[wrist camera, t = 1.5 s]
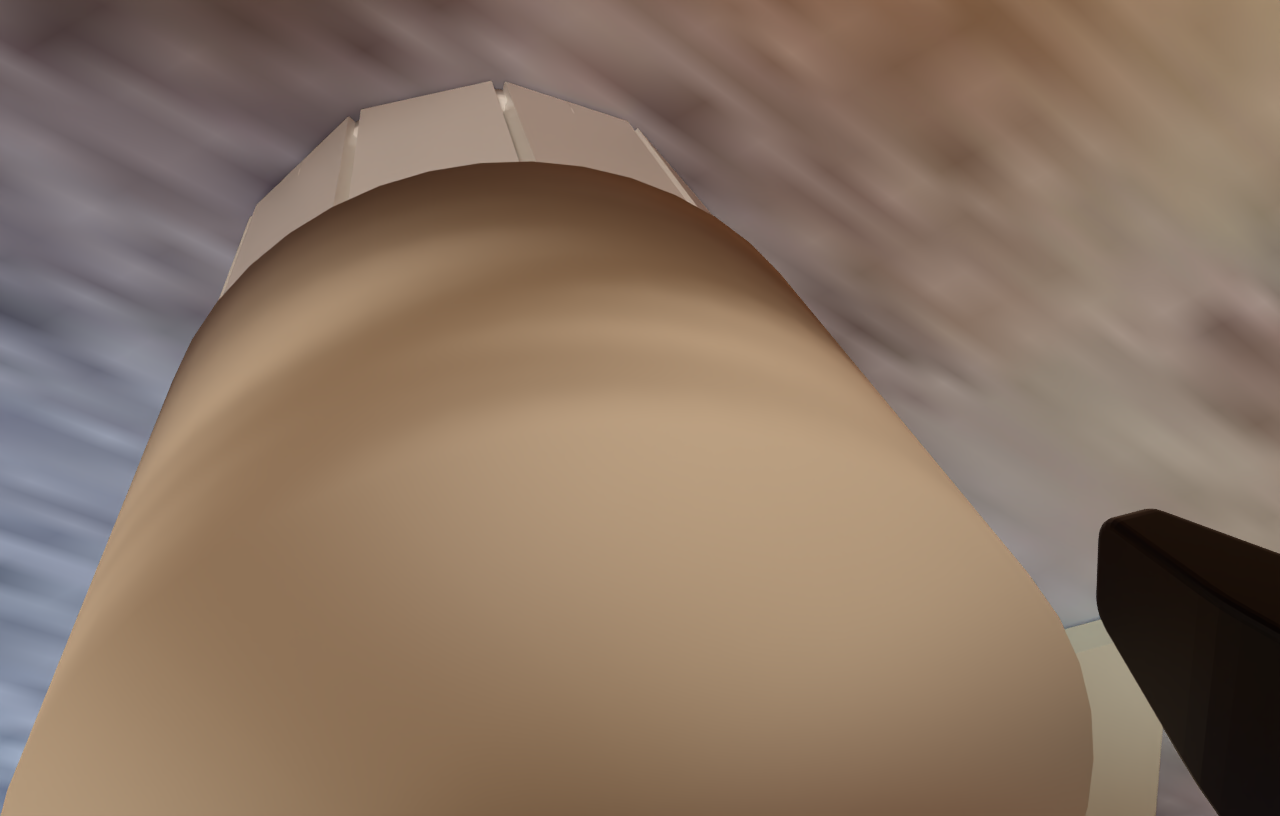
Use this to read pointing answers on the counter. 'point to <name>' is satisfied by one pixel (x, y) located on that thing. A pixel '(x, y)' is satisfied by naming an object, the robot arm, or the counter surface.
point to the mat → (1117, 729)
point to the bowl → (449, 153)
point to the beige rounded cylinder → (545, 546)
